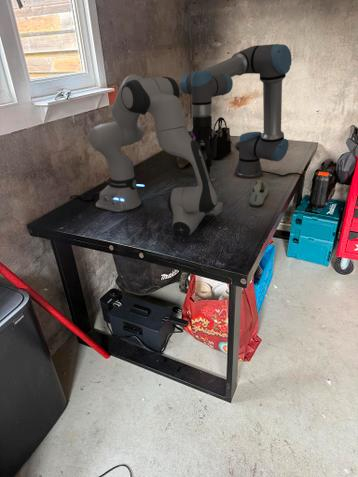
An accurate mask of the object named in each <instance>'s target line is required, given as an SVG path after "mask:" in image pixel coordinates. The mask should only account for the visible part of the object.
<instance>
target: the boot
mask: <svg viewBox="0 0 358 477" xmlns="http://www.w3.org/2000/svg"><path fill="white" fill-rule="evenodd" d="M175 159H176V162H177V165H178V168H179V169H183V168H185V167H186V166H187V165H188V164H191V163H190V162H189V161H188V160H186V159H184V158H181V157H178V156H175Z"/></svg>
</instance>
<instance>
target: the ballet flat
mask: <svg viewBox="0 0 358 477" xmlns="http://www.w3.org/2000/svg"><path fill="white" fill-rule="evenodd" d="M268 194H269V189H268V186H267V183H266V182H265V181H264V180H262V179H257V180H255V181H254V182H253V184H252V187H251V190H250V196H249V204H250V205H251V206H252V207H260V206H261V205H263V203H264V201H265V198H266V196H267V195H268Z"/></svg>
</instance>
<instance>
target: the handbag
mask: <svg viewBox="0 0 358 477" xmlns="http://www.w3.org/2000/svg"><path fill="white" fill-rule="evenodd" d="M223 123H224V126H223ZM216 127H218V128H217V129H216ZM230 129H231V128H230V127H228V124H227V122H226V120H225V118H224V117H222V116H219V117H218V118H217V119H216V121H215V123H214V126H213V128H212V130H213V132H215V133H219V136H218V138H217V154H216V157H215V158H213V159H212V160H218V161H219V160H222V159H224V158H225V157H226V156H229V154H231V153H232V143H231V141H232V140H231V137H232V136H231V131H230ZM212 139H213V138H212V134H211V135H210V146H211V152H212Z"/></svg>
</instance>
